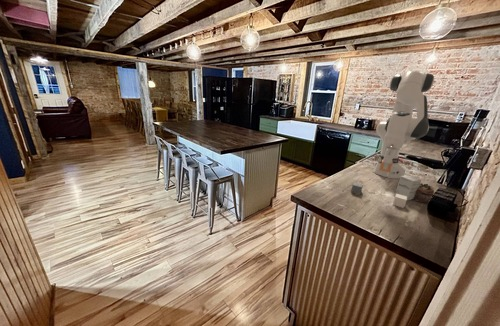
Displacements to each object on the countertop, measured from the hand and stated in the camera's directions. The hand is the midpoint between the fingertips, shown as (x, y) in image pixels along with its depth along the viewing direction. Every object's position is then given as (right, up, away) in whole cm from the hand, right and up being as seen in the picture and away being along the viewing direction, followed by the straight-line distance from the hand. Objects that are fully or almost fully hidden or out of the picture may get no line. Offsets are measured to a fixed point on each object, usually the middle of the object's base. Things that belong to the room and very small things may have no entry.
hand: (385, 167), depth 112 cm
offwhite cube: (+8, -21, +1) cm, 22 cm away
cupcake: (+25, -19, +7) cm, 33 cm away
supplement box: (+17, -18, +9) cm, 27 cm away
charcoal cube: (-10, -16, +12) cm, 22 cm away
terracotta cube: (0, -2, +1) cm, 2 cm away
